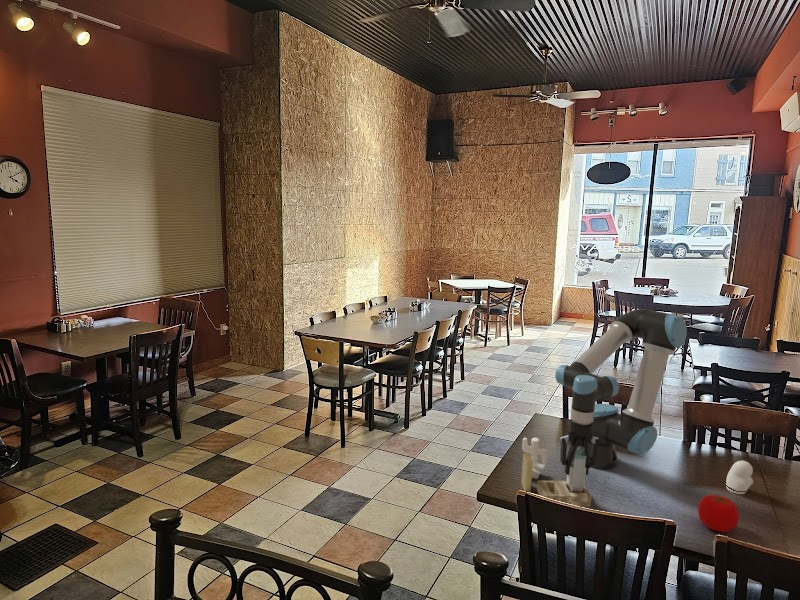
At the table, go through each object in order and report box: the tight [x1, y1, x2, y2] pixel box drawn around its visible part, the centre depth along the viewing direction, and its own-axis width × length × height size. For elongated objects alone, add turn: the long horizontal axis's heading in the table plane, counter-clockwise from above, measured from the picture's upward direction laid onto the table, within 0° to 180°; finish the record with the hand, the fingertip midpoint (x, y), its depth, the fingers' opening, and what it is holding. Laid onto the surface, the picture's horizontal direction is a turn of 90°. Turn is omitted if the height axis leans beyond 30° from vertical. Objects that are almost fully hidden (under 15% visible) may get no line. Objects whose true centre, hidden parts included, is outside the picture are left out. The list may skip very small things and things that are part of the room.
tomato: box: [697, 494, 740, 533], centre depth 172 cm, size 11×12×10 cm
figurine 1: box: [521, 436, 548, 480], centre depth 201 cm, size 7×9×15 cm
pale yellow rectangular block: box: [520, 452, 533, 493], centre depth 192 cm, size 2×6×12 cm, turn 0°
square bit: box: [567, 449, 586, 493], centre depth 185 cm, size 4×4×14 cm
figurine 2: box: [725, 460, 754, 495], centre depth 194 cm, size 7×8×12 cm
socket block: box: [536, 479, 592, 508], centre depth 186 cm, size 16×10×4 cm, turn 90°
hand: (575, 482), depth 186 cm, fingers closed on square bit, 4 cm apart
